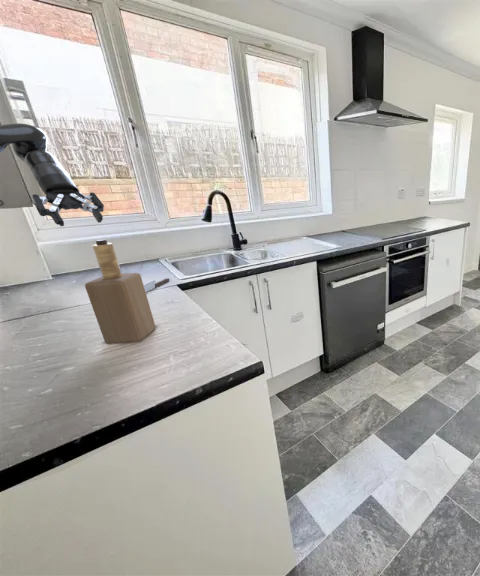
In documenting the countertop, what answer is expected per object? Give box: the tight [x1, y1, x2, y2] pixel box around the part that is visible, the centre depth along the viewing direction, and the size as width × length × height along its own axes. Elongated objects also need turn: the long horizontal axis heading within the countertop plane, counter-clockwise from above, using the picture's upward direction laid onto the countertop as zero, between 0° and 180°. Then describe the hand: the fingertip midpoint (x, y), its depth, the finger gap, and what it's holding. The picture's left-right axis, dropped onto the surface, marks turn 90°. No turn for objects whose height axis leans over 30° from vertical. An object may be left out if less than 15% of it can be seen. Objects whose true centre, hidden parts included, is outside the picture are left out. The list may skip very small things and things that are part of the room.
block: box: [84, 272, 156, 345], centre depth 96 cm, size 10×10×20 cm
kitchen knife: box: [143, 278, 170, 293], centre depth 140 cm, size 4×1×30 cm
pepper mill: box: [92, 238, 122, 279], centre depth 91 cm, size 4×4×11 cm
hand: (81, 222), depth 91 cm, fingers open, 8 cm apart
